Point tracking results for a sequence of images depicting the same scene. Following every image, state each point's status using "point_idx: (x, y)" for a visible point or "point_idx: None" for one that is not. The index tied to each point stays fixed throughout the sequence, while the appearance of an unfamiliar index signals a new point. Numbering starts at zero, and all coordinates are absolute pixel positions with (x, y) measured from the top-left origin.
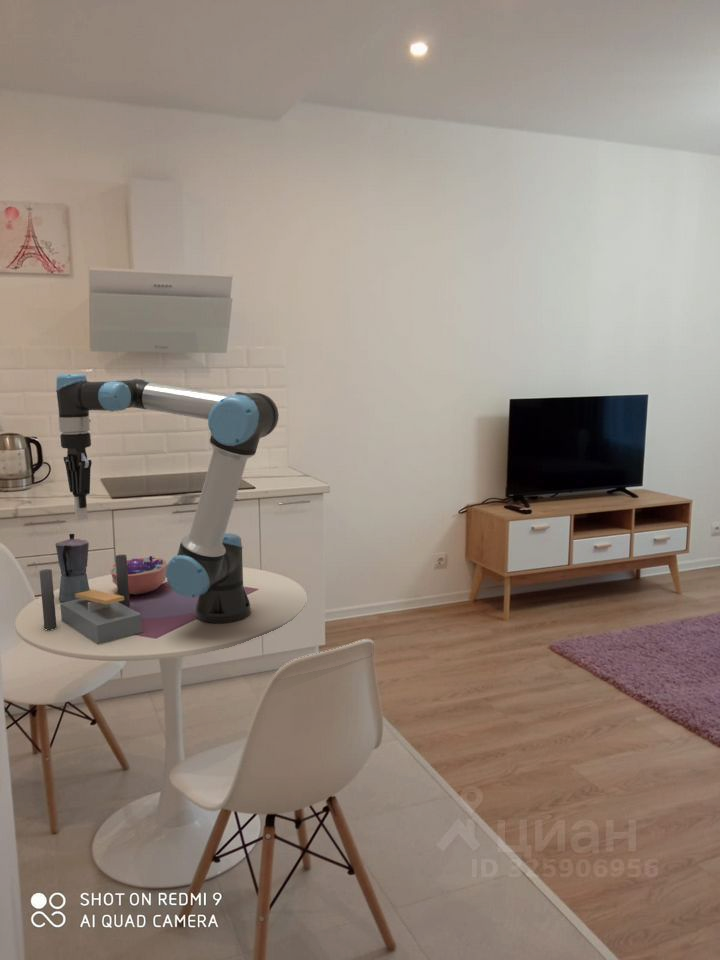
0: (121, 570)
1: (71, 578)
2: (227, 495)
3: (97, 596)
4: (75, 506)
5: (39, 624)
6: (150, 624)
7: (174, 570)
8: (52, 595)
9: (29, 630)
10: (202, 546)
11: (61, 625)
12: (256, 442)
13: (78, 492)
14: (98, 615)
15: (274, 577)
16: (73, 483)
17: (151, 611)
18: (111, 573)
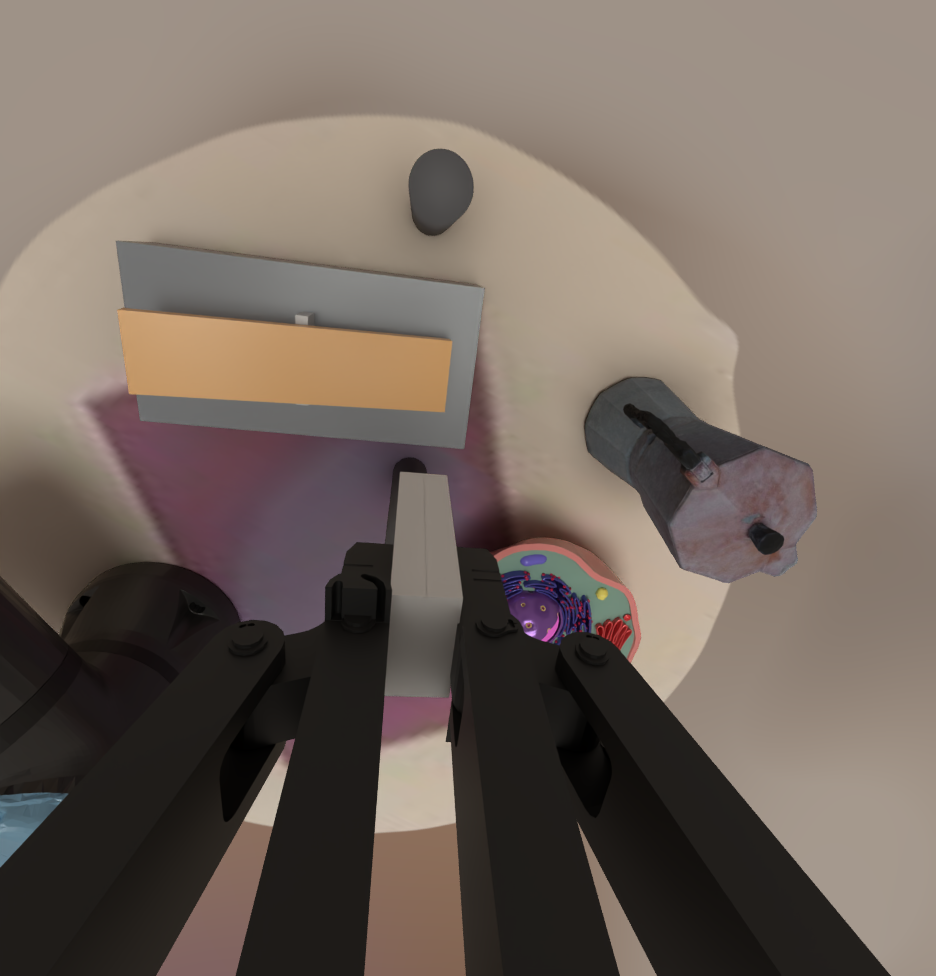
0: (389, 530)
1: (638, 429)
2: None
3: (267, 346)
4: (435, 530)
5: (504, 208)
6: (224, 456)
7: None
8: (413, 213)
9: (474, 146)
10: None
11: (432, 258)
12: None
13: (319, 645)
14: (232, 309)
15: None
16: (481, 747)
17: (335, 517)
18: (551, 544)
